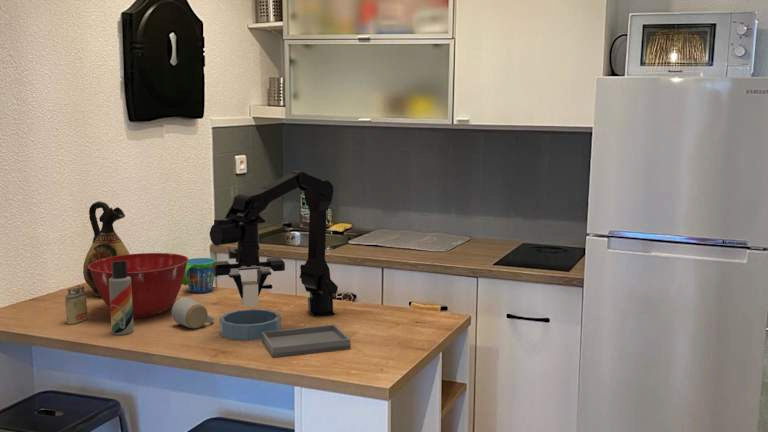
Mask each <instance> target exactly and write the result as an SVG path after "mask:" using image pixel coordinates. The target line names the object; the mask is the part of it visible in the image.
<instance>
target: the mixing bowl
mask: <svg viewBox="0 0 768 432" xmlns="http://www.w3.org/2000/svg"><path fill="white" fill-rule="evenodd" d="M188 259H189V258H188V256H186V255H182V254H177V253H170V252H169V253H168V252H145V253H144V252H141V253H129V254H128V255H120V256H113V257H108V258H104V259H100V260H97V261H94V262H92V263H90V264H89V265H88V268H89V269H90V272H91V275H92V278H93V280H94V283H95V285H96V288H97V290H98V292H99V294H100V295H101V297H100V298H101V299H102V301H103V302H104V305H106V307H107V308H108V309H109V310H110V291H109V279H110V278H112V262H118V261H126V262H127V276H129V277H131V288H132V307H133V319H134V318H135V319H138V318H139V319H141V318H149V317H153V316H158V315H160V314H163V313H164V312H166V310H168V309H169V308H170V307H171V306H173V305H174V303H175V302H176V300H177V297H178V295H179V293H180V290H181V287H182V285H183V284H182V282H183V279H184V275H185V270H186V265H187V262H188Z"/></svg>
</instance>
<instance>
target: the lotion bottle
mask: <svg viewBox="0 0 768 432" xmlns="http://www.w3.org/2000/svg"><path fill="white" fill-rule="evenodd" d="M109 291H110V309H109V310H110V324H111V333H112V334H113V335H116V336H123V335H124V336H125V335H130V334H132V333H133V332H134V318H133V307H132V288H131V277H129V276H127V262H126V261H118V262H112V278H110V279H109Z"/></svg>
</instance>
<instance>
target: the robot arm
mask: <svg viewBox="0 0 768 432" xmlns="http://www.w3.org/2000/svg"><path fill="white" fill-rule="evenodd" d="M296 189H298V190H299V191H301V192H303V196H304V201H305V204H306V206H307V207H308V209H309V211H308V212H309V214H308V215H309V216H308V245H307V247H308V248H307V250H308V251H307V260H306V262H305V263H304V264H300V268H299V269H300V275H299V279H301V280H300V281H301V284H302V285H303V287H304V289H305V292H306V293H309V297H308V298H307V312H308V313H310V314H311V315H312V317H321V316H331V315H335V314H336V313H335V311H334V295H336V294H338V293H337V292H338V288H339V286H338V285H337V284H336V283H335V282H334V281H333V280H332V279H331V271H330V266H329V265H328V263H327V260H326V241H327V211H328V209H329V207H330V205H331V204H332V201H333V196H334V191H335V190H334V185H333V183H332V182H331V181H329V180H325V179H320V178H318V177H316V176H315V177H314V176H312V175H310V174H309V173H307V172H305V171H301V170H292V171H290V172H289V173H287V174H286V175H284V176H282V177H279V178H278V179H277V180H274V181H272V182H271V183H268V184H267V185H265V186H262V187H261V188H259V189H255V190H248V191H245V192H242V193H238V194H236V196H234V197H233V200H232V204H231V206H230V208H229V209H228V211H227V213H226V215H225V217H224V218H221V219H219V218H216V219H214V220H213V224H212V225H211V227H210V231H209V238H210V241H211V243H212V245H214V246H215V247H218V246H225V245H230V244H236V243H237V247H236V246H229V247H228V249H227V250H228V253H227V254H228V260H235V263H230V262H229V261H228V260H222V261H216V262H214V263H213V273H214V274H215V275H216V276H218V277H220V276H228V277H229V278H231V279H232V280H233V281H234V283H235V285H236V288H237V291H238V294H239V296H240V299H241V298H243V290H242V282H243V281H242V274H240V273H239V272H240V271H248V270H249V271H250V270H256V276H257V277H256V282H257V284H258V298H259V297H260V294H261V291H262V289H263V287H264V283H265V282H266V279H268V276H271V275H272V272H271V270H272V271H273V272H283V271H285V270H286V263H285V261H284V260H283V259H282V258H280V257H279V256H278V257H277V256H276V257H267V258H266V261H260V234H259V233H260V232H259V230H260V229H259V227H260V226H259V224H265V223H266V220H265V218H263V217H262V216H261V215H260V214H262V213H263V212H264V211H265V210H267V207H268V205H270V203H272V202H273V201H275V200H278V199H279V198H281V197H283V196H285V195H287V194H289V193H291V192H292V191H294V190H296Z"/></svg>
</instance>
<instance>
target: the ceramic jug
mask: <svg viewBox="0 0 768 432" xmlns="http://www.w3.org/2000/svg"><path fill="white" fill-rule="evenodd" d="M98 209H102V211H103V212H102V213H101V214H100V216H99V221H98V218H97V213H96V212H97V210H98ZM88 214H89V221H90V224H91V227H92V230H93V234H94V235H93V239H92V243H91V245H90V248H89V250H88V251H87V254H86V256H85V258H84V262H83V272H82V273H83V279H84V281H85V283H86V284H87V285H88V286H89V288H91V289H92V291H93V292H92V294H93V295H95V296H96V297H100V298H102V297H101V295H100V294H99V292H98V290H97V288H96V285H95V283H94V280H93V278H92V275H91V272H90V269H89V268H88V265H89V264H90V263H92V262H94V261H97V260H100V259H104V258H108V257H113V256H120V255H128V254H130V251H129V250H128V248H127V247H126V245H125V244H124V242H123V240H122V239H121V238H120V236H118V233H116V231H115V229H114V223H115V222H116V221H119V220H121V219H124V218H125V217H126V215H125V213H124V211H123V210H122V209H121V208H120V207H119V206H116V207H115V208H113V207H110V206H109V205H108V203H107V202H106V203H105V202H103V201H101V200H98V201H95V202H93V203H92V204H91V205H90V207H89V210H88ZM98 222H100V223H102V225H101V228H100V225H99V223H98Z"/></svg>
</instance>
